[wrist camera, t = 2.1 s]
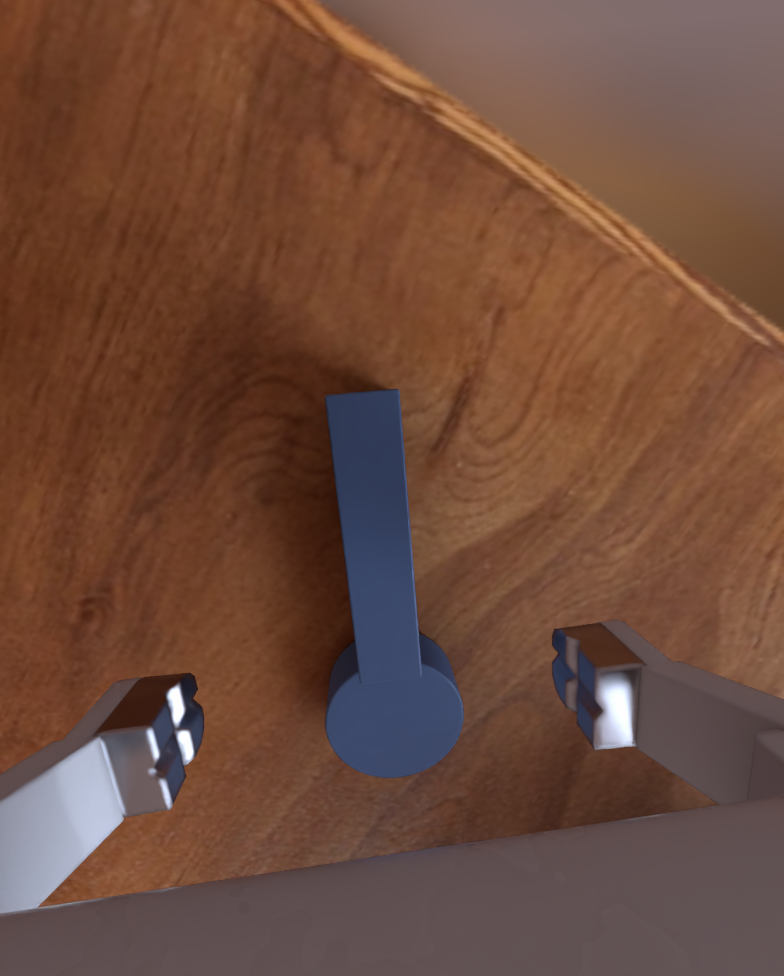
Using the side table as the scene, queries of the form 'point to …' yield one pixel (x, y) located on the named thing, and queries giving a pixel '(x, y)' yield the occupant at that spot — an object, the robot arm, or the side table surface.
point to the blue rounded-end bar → (383, 605)
